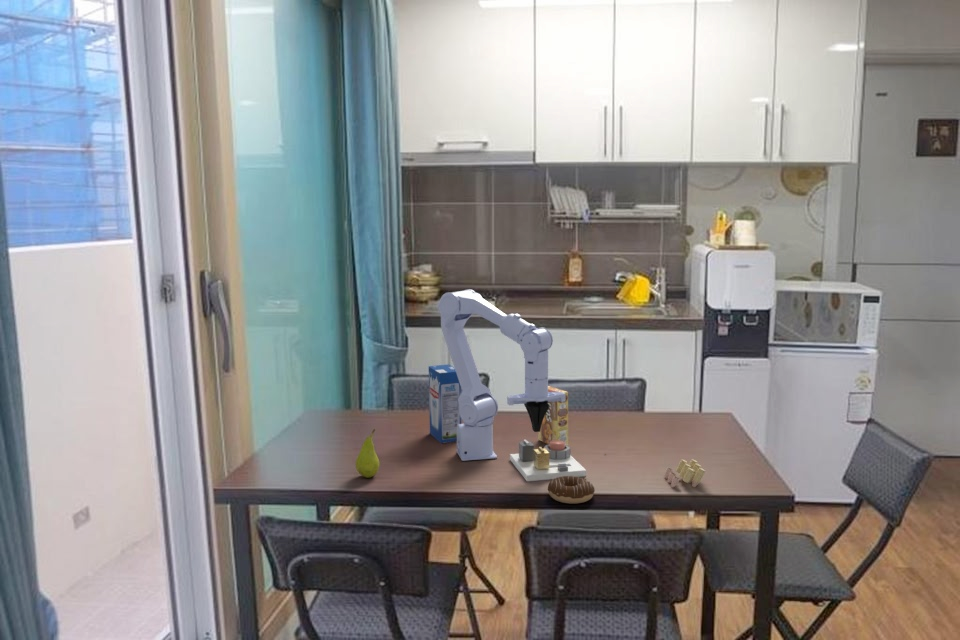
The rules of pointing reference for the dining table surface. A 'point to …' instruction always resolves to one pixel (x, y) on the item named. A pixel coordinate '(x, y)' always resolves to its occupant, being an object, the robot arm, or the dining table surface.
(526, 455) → the gray slider
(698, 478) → the ammunition
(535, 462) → the brass slider
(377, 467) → the fruit
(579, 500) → the donut
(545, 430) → the candy box
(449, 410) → the milk carton
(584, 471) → the panel
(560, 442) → the red button
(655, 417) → the dining table surface
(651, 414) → the dining table surface
